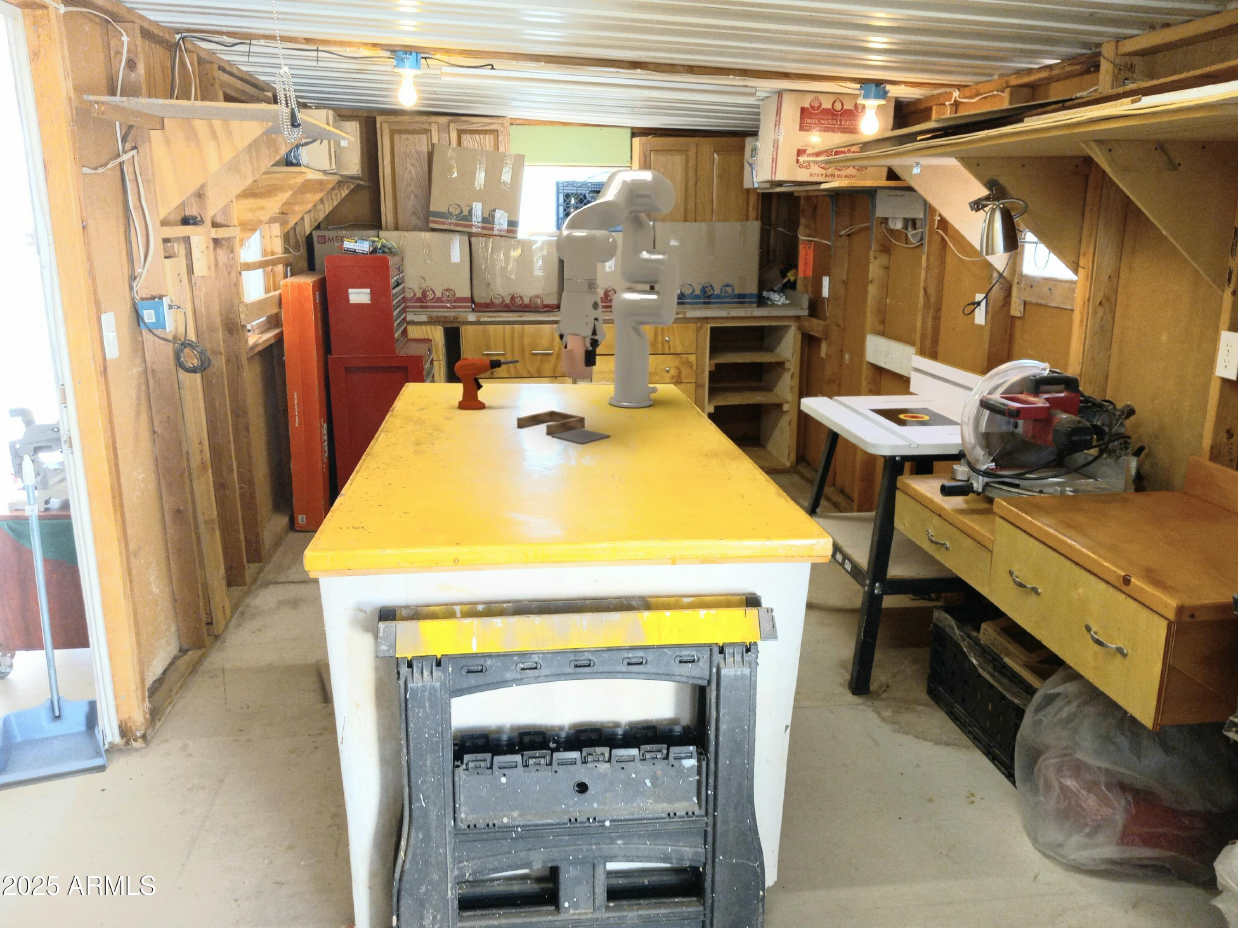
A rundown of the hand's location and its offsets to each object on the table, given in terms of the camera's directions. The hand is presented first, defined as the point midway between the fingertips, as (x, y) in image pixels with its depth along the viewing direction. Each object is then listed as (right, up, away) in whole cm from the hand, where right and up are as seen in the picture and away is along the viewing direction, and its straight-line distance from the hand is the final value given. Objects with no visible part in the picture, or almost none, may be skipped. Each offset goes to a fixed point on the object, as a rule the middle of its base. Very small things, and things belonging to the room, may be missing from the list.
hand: (579, 363), depth 216 cm
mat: (0, -17, +4) cm, 18 cm away
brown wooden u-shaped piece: (-8, -14, +13) cm, 21 cm away
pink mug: (-1, -3, 0) cm, 3 cm away
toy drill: (-26, -9, +34) cm, 44 cm away
